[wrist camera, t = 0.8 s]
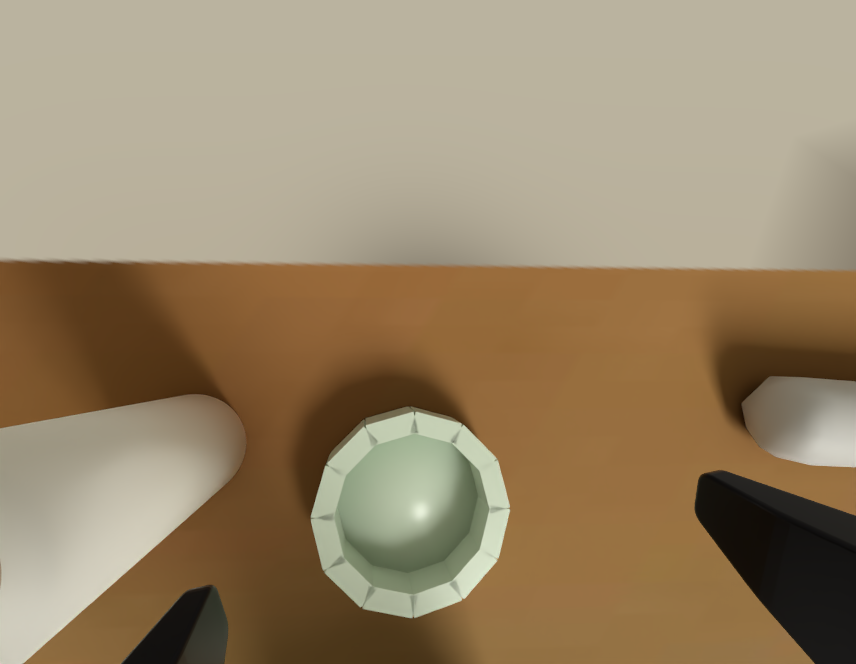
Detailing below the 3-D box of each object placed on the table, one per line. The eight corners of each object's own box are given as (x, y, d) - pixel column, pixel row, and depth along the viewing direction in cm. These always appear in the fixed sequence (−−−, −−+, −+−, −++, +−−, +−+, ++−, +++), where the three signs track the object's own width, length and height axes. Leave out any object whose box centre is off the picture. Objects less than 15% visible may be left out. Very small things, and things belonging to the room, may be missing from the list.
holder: (467, 601, 22) (480, 631, 19) (297, 566, 21) (288, 594, 18) (509, 431, 23) (526, 440, 20) (348, 390, 22) (346, 393, 19)
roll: (228, 508, 20) (-10, 764, 7) (121, 485, 20) (-344, 720, 7) (259, 408, 21) (89, 483, 8) (156, 382, 20) (-212, 418, 7)
